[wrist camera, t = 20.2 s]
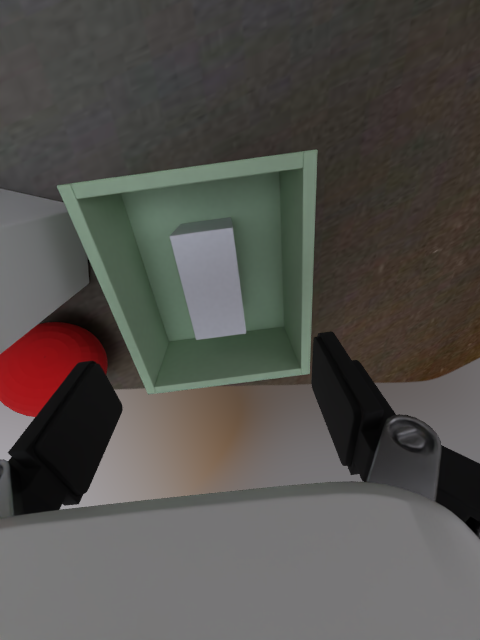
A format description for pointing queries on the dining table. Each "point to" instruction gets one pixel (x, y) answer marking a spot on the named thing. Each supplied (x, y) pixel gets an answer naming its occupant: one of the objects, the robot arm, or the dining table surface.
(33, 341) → the ornament
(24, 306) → the milk carton
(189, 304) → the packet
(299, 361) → the open box
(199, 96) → the dining table surface
